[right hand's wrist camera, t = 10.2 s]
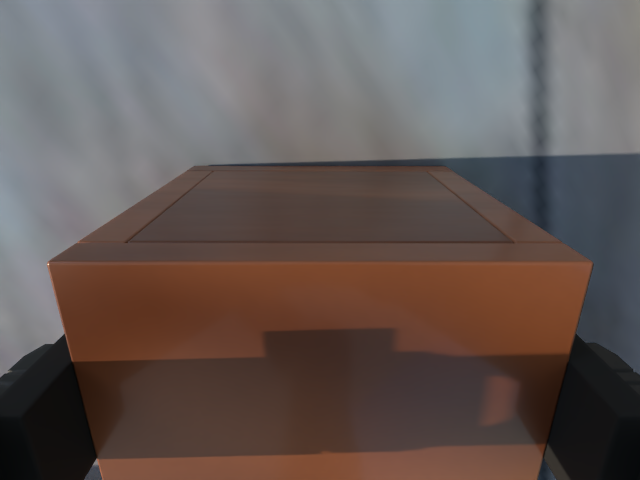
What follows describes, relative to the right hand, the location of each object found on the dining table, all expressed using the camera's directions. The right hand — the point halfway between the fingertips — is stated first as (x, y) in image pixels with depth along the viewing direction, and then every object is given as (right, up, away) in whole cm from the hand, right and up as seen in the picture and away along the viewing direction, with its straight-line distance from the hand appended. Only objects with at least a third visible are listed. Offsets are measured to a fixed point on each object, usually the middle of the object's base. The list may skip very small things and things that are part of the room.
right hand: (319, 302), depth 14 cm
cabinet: (0, -4, +6) cm, 7 cm away
